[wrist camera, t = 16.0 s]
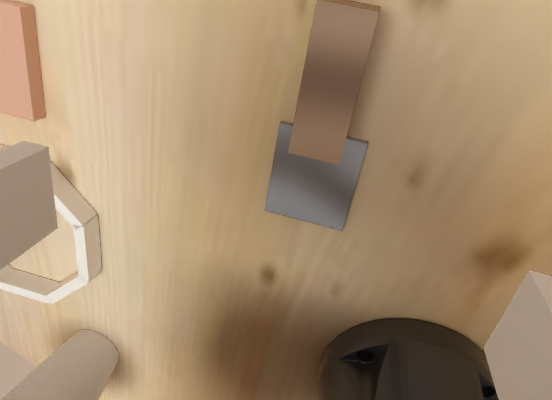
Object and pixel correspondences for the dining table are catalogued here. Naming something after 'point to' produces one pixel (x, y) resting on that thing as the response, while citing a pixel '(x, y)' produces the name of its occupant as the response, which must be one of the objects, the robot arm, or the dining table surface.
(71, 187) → the dish rim
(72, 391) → the dixie cup
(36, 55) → the tile
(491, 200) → the dining table surface
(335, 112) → the tall brown block
